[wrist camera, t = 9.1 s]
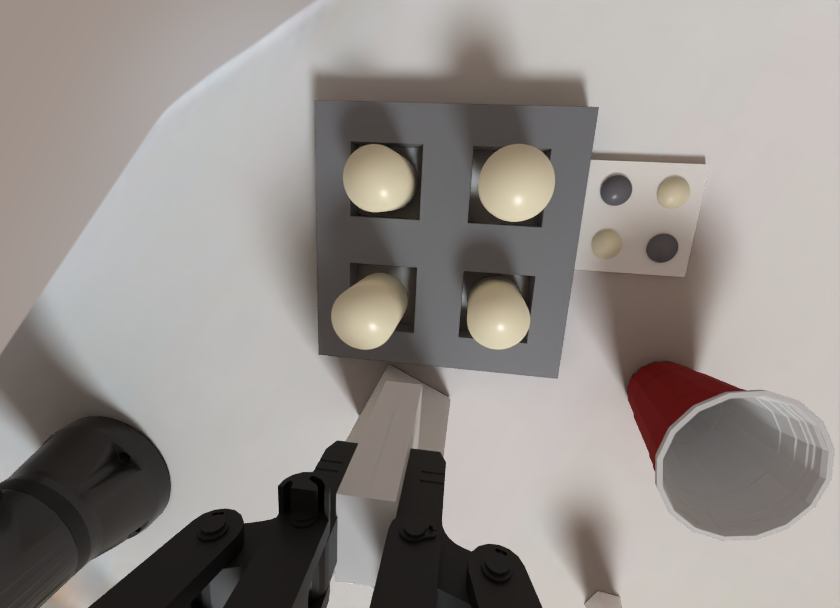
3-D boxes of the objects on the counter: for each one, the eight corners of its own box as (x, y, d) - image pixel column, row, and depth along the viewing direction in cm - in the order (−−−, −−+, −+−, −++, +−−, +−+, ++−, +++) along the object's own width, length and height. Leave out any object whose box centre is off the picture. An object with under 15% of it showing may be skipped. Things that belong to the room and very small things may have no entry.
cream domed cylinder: (475, 216, 32) (475, 219, 26) (480, 153, 31) (482, 142, 25) (535, 219, 32) (549, 223, 26) (543, 155, 30) (559, 145, 25)
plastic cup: (751, 400, 36) (881, 493, 24) (643, 459, 39) (714, 568, 27) (683, 308, 35) (787, 361, 23) (576, 376, 38) (621, 454, 26)
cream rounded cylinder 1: (363, 209, 36) (342, 210, 30) (364, 152, 35) (342, 142, 29) (416, 211, 35) (405, 213, 30) (419, 154, 34) (407, 145, 28)
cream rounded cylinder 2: (354, 323, 36) (331, 346, 30) (354, 270, 35) (330, 284, 29) (406, 327, 35) (393, 352, 30) (409, 274, 34) (395, 289, 28)
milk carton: (388, 363, 40) (316, 500, 22) (451, 397, 40) (431, 563, 22) (358, 417, 42) (268, 584, 23) (417, 450, 42) (374, 642, 24)
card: (572, 268, 35) (574, 269, 34) (588, 160, 33) (591, 159, 32) (681, 275, 34) (686, 277, 33) (706, 165, 32) (711, 164, 31)
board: (327, 345, 40) (318, 354, 38) (325, 107, 34) (314, 100, 32) (552, 367, 38) (557, 378, 35) (589, 114, 32) (598, 107, 30)
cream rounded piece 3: (466, 324, 37) (464, 346, 32) (470, 273, 36) (469, 287, 30) (518, 328, 37) (526, 352, 31) (524, 277, 36) (533, 292, 30)
